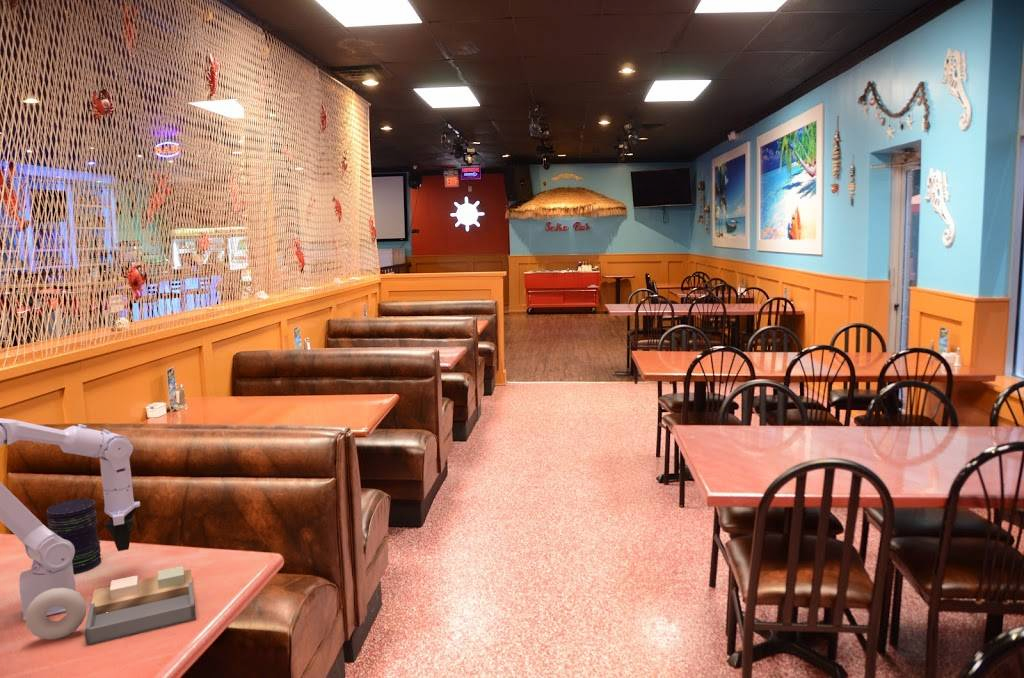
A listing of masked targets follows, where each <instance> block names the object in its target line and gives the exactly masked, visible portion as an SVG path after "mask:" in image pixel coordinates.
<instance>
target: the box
mask: <svg viewBox="0 0 1024 678" xmlns="http://www.w3.org/2000/svg"><path fill="white" fill-rule="evenodd" d="M193 585H194V584H193V581H192V582H189V583H188V586H189V594H188V595H184V596H179V597H175V598H170V599H166V600H161V601H157V602H152V603H148V604H143V605H139V606H135V607H130V608H126V609H121V610H117V611H112V612H108V613H103V614H99V615H96V612H95V603H93V604H92V603H89V607H88V612H87V618H86V623H85V628H84V637H85V644H86V646H91V645H96V644H99V643H103V642H108V641H112V640H115V639H116V640H117V639H120V638H124V637H125V638H126V637H128V636H129V637H130V636H134V635H137V634H140V633H141V634H142V633H145V632H150V631H153V630H157V629H162V628H166V627H172V626H175V625H179V624H183V623H187V622H192V621H195V620H197V615H196V606H195V603H196V602H195V597H194V595H195V594H194V588H193V587H194V586H193Z"/></svg>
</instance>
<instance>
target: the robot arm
mask: <svg viewBox="0 0 1024 678" xmlns="http://www.w3.org/2000/svg"><path fill="white" fill-rule="evenodd" d="M87 427H88V425H86V424H82V423H79V424H77V425H71V426H69V427H66V428H64V429H59V428H55V427H50V426H46V425H41V424H35V423H30V422H26V421H21V420H18V419H11V418H1V417H0V448H2V446H3V444H4V445H6V446H9V445H12V444H14V443H16V442H17V441H20V440H21V441H29V442H36V443H41V444H49V445H50V444H51V445H57V446H59V447H60V449H61V451H62V452H63V453H65V454H73V455H78V456H84V457H90V458H99V464H100V475H101V476H100V477H101V485H102V493H103V501H104V502H103V503H104V508H103V510H104V511H103V512H104V513H105V514H106V515H107V516H108V517H109V519H110V520H106V521H105V523H104V526H105V528H106V530H108V531H109V533H110V535H111V537H112V539H113V541H114V544H115V547H116V549H117V552H121V551H127V550H129V549H130V544H131V532H132V528H133V525H134V522H135V517H134V514H135V512H136V508H139V507H140V506H141V502H140V501H135V499H134V491H133V490H134V489H133V481H132V480H133V479H132V470H131V465H130V464H131V462H130V457H131V455H132V454H133V452H134V445H132V443H131V441H130V439H129V438H127V436H124V435H121V434H118V433H115V432H112V431H110V430H107V429H105V428H104V429H102V430H99V429H92V428H87ZM0 522H1V523H2V524H3V525H4V526H5V527H6V528H7V529H9V530H10V532H12V533H13V534H14V535H15V536H16V537H17V539H18V540H19V541H20V542H21V544H22V545H23V546H24V549H25V554H26V555H27V557H28V558H30V559H31V560H32V564H31V567H30V569H29V570H25V571H21V572H20V574H19V575H20V576H19V581H18V582H19V595H20V596H19V597H20V601H21V602H20V603H21V608H22V610H21V611H22V621H25V617H26V611H27V609H28V606H29V604H30V603H31V602H32V601H33V600H34V599H35V598H36V597H37V596H38V595H40V594H41V593H43V592H44V591H47V590H50V589H53V588H68V589H72V590H74V591H76V592H78V593H79V594H80V595H81V591H77V590H76V583H75V574H74V573H73V565H72V559H73V557H74V554H75V548H74V546H73V544H72V543H71V542H70V541H68V540H65V539H63V538H61V537H60V536H58V535H57V534H56V533H55V532H53V531H51V530H49V527H47V526H46V525H44V523H42V522H41V520H40V519H38V518H37V517H36V515H34V514H33V513H32V512H31V511H30V509H28V507H26V506H25V504H23V503H22V502H21V501H20V500H19V499H18V498H17V497H16V496H15V495H14V494H13V493H12V492H11V491H10V490H9V489H8V487H6V486H5V485H4V484H3V483H2V482H1V481H0ZM60 613H66V610H65V608H63V607H61V606H54V607H51V608H50V609H49V610H48V611H47V613H46V616H47V617H48V616H51V615H57V614H60Z"/></svg>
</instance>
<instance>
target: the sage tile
mask: <svg viewBox="0 0 1024 678" xmlns="http://www.w3.org/2000/svg"><path fill="white" fill-rule="evenodd" d="M184 571H185V570H184V566H183V565H181V566H176V567H170V568H166V569H162V570H158V571H157V576H158V584H159V589H161V588H166V587H170V586H175V585H180V584H184V583H185V581H184Z"/></svg>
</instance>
